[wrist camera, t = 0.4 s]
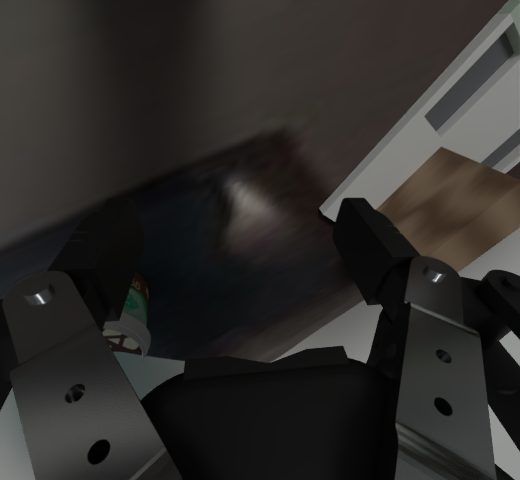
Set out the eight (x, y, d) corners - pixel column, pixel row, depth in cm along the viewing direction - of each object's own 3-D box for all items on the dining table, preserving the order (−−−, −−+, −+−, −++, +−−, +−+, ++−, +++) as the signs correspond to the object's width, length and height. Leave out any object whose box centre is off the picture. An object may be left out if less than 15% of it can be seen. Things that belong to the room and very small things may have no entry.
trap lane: (391, 257, 44) (400, 267, 42) (318, 208, 35) (325, 218, 33) (689, 4, 28) (727, 1, 26) (689, -198, 19) (745, -226, 17)
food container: (170, 271, 37) (161, 332, 29) (157, 299, 40) (146, 362, 32) (69, 247, 32) (25, 313, 24) (63, 281, 35) (22, 350, 27)
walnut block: (378, 247, 39) (422, 297, 31) (354, 230, 36) (396, 281, 29) (462, 172, 34) (541, 211, 26) (441, 146, 31) (522, 181, 23)
